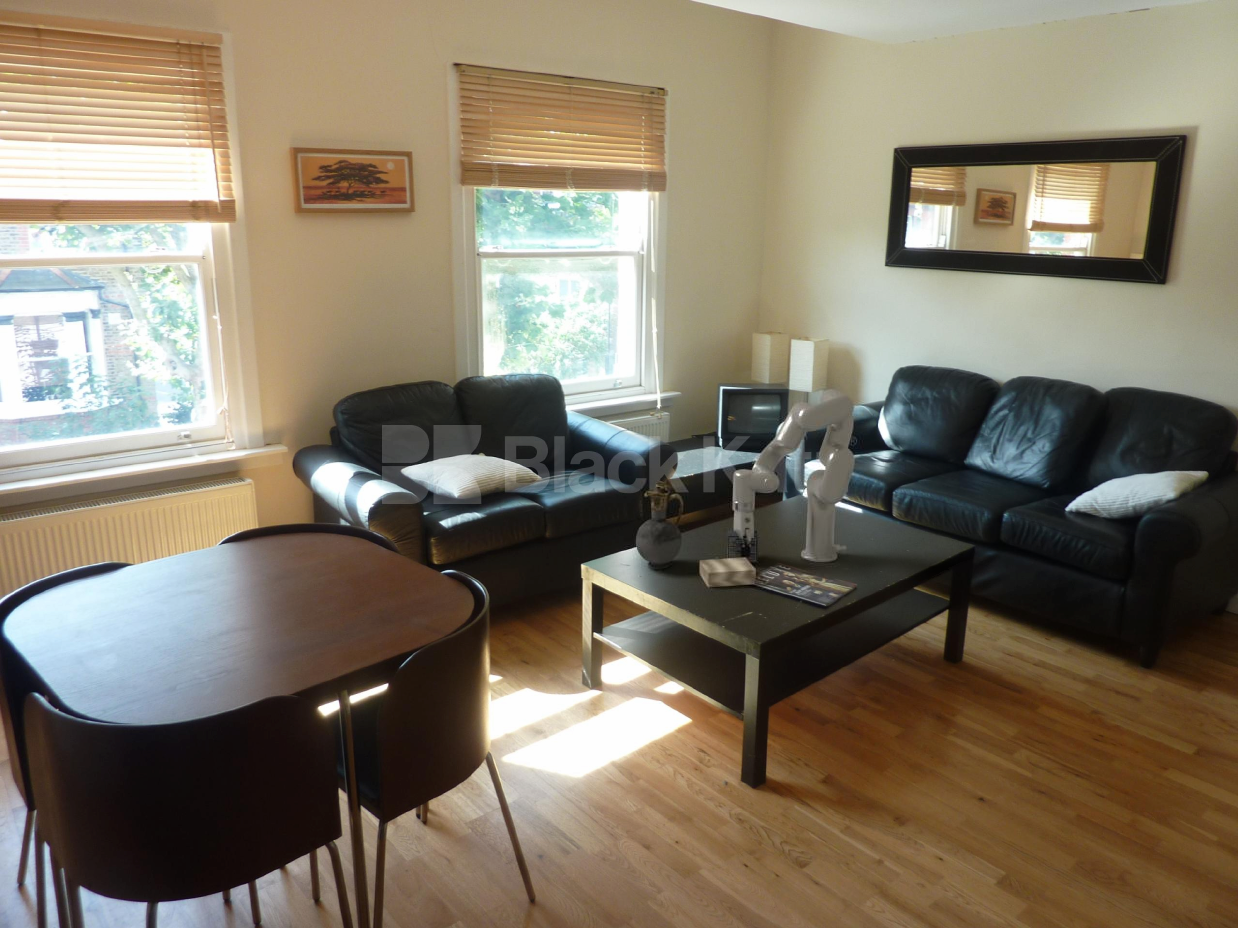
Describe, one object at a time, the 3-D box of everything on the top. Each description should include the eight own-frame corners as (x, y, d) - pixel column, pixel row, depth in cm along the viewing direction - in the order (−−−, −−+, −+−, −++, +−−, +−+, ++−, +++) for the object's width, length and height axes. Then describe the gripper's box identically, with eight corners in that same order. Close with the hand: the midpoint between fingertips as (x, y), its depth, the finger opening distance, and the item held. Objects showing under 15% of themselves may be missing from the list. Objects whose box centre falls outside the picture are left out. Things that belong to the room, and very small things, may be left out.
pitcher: (631, 566, 328) (630, 483, 320) (671, 554, 339) (672, 474, 332) (652, 575, 320) (652, 490, 312) (692, 562, 331) (693, 480, 324)
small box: (756, 557, 335) (757, 529, 333) (757, 564, 329) (758, 535, 326) (726, 557, 336) (727, 529, 334) (727, 563, 330) (728, 535, 327)
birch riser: (744, 571, 323) (745, 557, 322) (755, 583, 311) (755, 569, 310) (699, 574, 320) (699, 560, 319) (708, 587, 309) (708, 572, 308)
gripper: (761, 511, 320) (759, 561, 324) (746, 497, 336) (745, 544, 341) (740, 513, 319) (738, 562, 323) (726, 498, 335) (725, 545, 340)
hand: (742, 552), depth 332 cm, fingers closed on small box, 7 cm apart
